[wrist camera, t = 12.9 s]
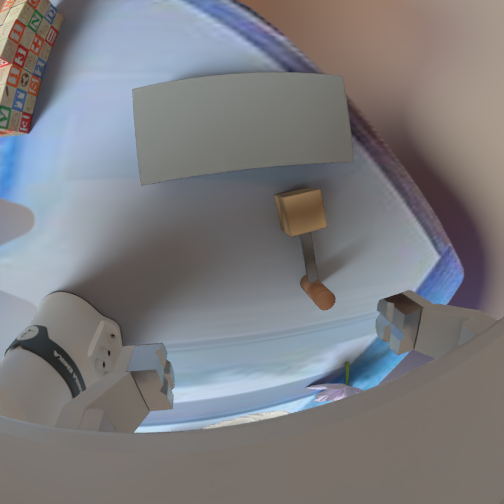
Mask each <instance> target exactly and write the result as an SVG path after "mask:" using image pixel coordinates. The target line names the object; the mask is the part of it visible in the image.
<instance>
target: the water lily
mask: <svg viewBox="0 0 504 504" xmlns="http://www.w3.org/2000/svg"><path fill="white" fill-rule="evenodd" d="M348 379H349V363H348V362H347V363H346V380H345V384H319V385H313V386H309V387H306V388H309V389H326V390H324V391H322V392H320V393H318V394H317V395H315V396H314V397H318V398H317V399H315V400H314V401H319V402H322V401H325V400H326V401H330V400H332V402H333V401H336V400H339V399H342V398H345V397H348V396H351V395H354V394H357V393H359V392H362V391H364V390H361V389H359V388H356V387H352V386H349V385H348ZM328 388H329V389H328ZM319 402H318V403H319Z"/></svg>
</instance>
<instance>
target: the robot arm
mask: <svg viewBox="0 0 504 504" xmlns="http://www.w3.org/2000/svg"><path fill="white" fill-rule="evenodd" d="M377 311H378V312H379V316H378V317H377V319H376V331H377V334H378V336H379V338H380V339H381V340H382V341H385V342H388V343H389V348H390V349H391V350H393V351H394V352H395V353H396V354H397V355H400V354H403V353H405V352H408V351H410V350H413V349H414V350H416V351H418V352H421V353H423V354H426V355H428V356H431V357H434V358H436V359H434V360H433V361H430V362H429V363H427V364H425V365H423V366H421V367H418V368H416V369H414V370H412V371H410V372H408V373H406V374H404V375H401V376H399V377H397V378H395V379H392V380H390V381H388V382H385V383H383V384H380V385H378V386H375V387H373V388H370V389H368V390H365V391H362V392H359V393H357V394H354V395H351V396H348V397H345V398H342V399H339V400H336V401H333V402H330V403H327V404H323V405H320V406H317V407H313V408H309V409H306V410H302V411H298V412H294V413H290V414H286V415H282V416H278V417H273V418H269V419H264V420H259V421H254V422H248V423H243V424H237V425H230V426H224V427H216V428H208V429H199V430H189V431H176V432H152V433H133V432H134V431H135V430H136V429H137V428H138V426H139V425H140V424H141V423H142V421H143V420H144V419H145V417H146V416H147V415H148V414H149V411H156V410H168V409H173V398H174V395H173V393H172V389H173V388H174V385H175V380H174V372H173V368H172V365H171V362H169V361H168V360H167V350H166V348H165V345H164V344H163V343H154V344H142V345H129V346H123V344H122V338H121V332H120V327H119V325H118V324H117V323H116V322H114V321H113V320H111V319H109V318H107V317H104V316H102V315H101V314H100V313H98V312H97V311H96V310H95V309H94V308H93V307H92V306H91V305H90V304H89V303H87V302H86V301H85V300H83V299H82V298H80V297H78V296H76V295H73V294H70V293H66V292H56V293H52V294H50V295H48V296H46V297H45V298H44V299H43V300H42V302H41V304H40V306H39V309H38V311H37V313H36V316H35V317H34V319H33V320H32V322H31V324H30V325H29V327H27V328H26V329H25V330H24V331H22V332H21V333H20V334H19V335H18V336H17V338H16V339H15V340H14V341H13V342H12V344H11V345H10V346H9V348H8V349H7V350H6V352H5V357H4V358H3V360H2V361H1V362H0V504H504V317H503V318H502V319H500V320H496V319H495V318H493V317H492V316H490V315H488V314H487V313H485V312H483V311H479V310H472V309H465V308H460V307H454V306H448V305H442V304H432V303H431V302H429V301H428V300H426V299H424V298H423V297H421V296H420V295H418V294H416V293H415V292H413V291H411V290H407V291H405V292H402V293H399V294H396V295H393V296H390V297H387V298H384V299H381V300H379V302H378V305H377ZM112 334H114V335H115V336H112Z"/></svg>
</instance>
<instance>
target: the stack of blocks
mask: <svg viewBox="0 0 504 504" xmlns="http://www.w3.org/2000/svg"><path fill="white" fill-rule="evenodd" d="M63 21H64V17H63V16H62V15H61V14H60V12H59V11H57V9H56V8H55V7H54V6H53V5H52V4H51V2H50V1H49V0H5V2H4V4H3V6H2V8H1V9H0V137H8V136H15V135H25V134H29V129H30V123H31V118H32V114H33V111H34V106H35V102H36V97H37V94H38V90H39V87H40V83H41V78H42V75H43V72H44V69H45V66H46V62H47V60H48V57H49V54H50V51H51V48H52V46H53V44H54V42H55V39H56V37H57V34H58V32H59V30H60V27H61V25H62V23H63Z"/></svg>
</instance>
